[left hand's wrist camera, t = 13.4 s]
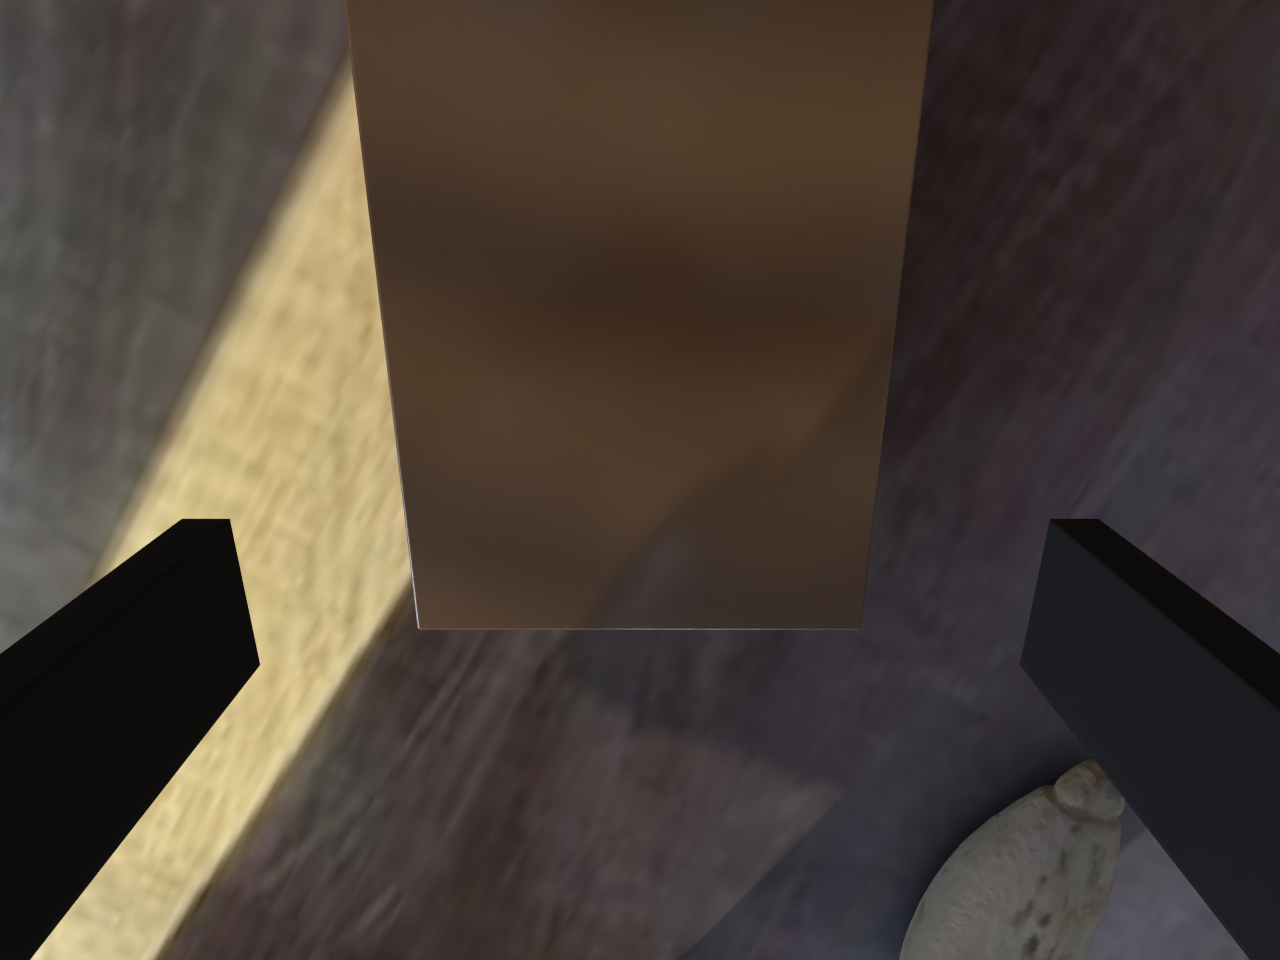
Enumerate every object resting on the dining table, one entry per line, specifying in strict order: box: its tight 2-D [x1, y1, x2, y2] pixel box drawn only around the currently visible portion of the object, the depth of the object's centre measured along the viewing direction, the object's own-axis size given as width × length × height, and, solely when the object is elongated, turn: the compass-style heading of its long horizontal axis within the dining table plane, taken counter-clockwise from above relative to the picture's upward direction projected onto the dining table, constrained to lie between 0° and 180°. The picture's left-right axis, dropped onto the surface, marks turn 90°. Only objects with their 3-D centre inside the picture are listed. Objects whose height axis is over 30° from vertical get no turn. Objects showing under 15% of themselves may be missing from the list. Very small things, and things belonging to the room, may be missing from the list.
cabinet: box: [344, 0, 935, 630], centre depth 20 cm, size 18×11×8 cm, turn 0°
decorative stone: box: [899, 758, 1125, 960], centre depth 31 cm, size 6×16×3 cm, turn 162°
